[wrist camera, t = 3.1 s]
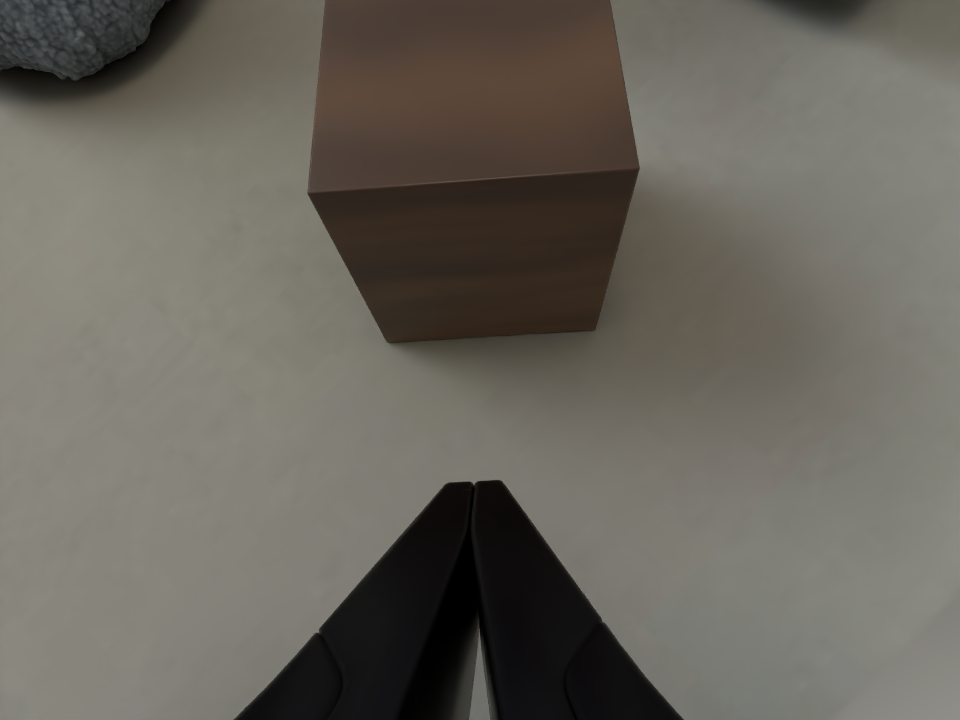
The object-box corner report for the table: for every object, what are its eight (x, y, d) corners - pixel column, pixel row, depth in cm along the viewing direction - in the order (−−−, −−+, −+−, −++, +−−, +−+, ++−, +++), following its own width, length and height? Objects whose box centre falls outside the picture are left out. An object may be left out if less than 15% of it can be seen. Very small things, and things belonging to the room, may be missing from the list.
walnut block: (595, 330, 22) (640, 168, 14) (386, 343, 22) (306, 193, 14) (574, 162, 25) (601, -55, 17) (391, 176, 25) (326, -29, 17)
